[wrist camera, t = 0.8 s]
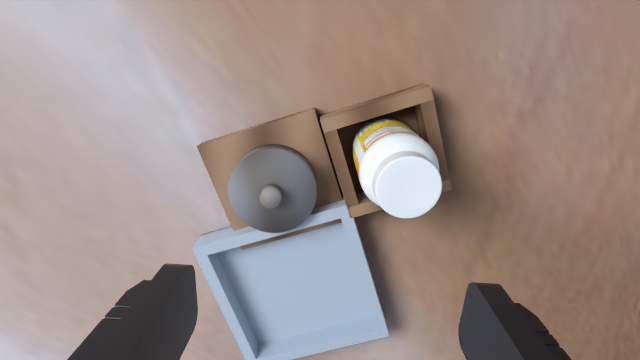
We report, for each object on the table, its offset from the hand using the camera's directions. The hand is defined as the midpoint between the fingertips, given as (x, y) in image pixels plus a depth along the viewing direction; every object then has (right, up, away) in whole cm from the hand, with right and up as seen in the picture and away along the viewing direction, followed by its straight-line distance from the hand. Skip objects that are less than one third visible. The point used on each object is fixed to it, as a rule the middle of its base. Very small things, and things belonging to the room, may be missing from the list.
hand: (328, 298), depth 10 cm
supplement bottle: (+5, +6, +20) cm, 21 cm away
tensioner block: (0, +5, +20) cm, 21 cm away
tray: (-2, -6, +24) cm, 25 cm away
